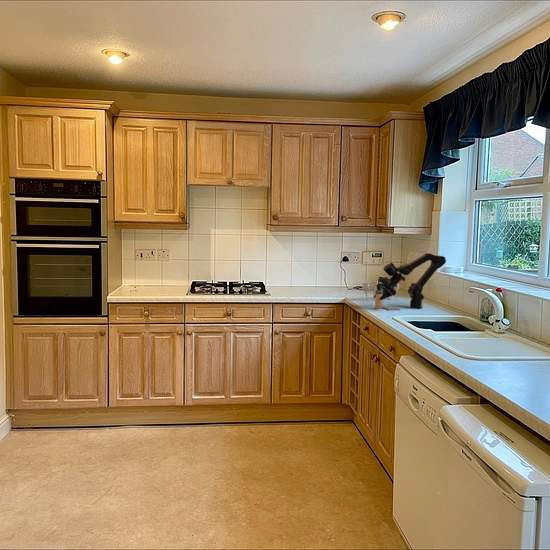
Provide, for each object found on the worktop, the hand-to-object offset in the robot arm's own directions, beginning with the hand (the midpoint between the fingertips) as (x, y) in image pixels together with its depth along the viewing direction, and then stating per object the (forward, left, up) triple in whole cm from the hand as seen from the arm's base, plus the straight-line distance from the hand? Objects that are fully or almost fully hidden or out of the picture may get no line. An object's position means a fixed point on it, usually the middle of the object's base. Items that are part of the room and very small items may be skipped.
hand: (377, 298), depth 331 cm
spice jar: (-1, -1, -7) cm, 7 cm away
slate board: (-6, -7, -7) cm, 12 cm away
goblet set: (+11, -34, -7) cm, 36 cm away
